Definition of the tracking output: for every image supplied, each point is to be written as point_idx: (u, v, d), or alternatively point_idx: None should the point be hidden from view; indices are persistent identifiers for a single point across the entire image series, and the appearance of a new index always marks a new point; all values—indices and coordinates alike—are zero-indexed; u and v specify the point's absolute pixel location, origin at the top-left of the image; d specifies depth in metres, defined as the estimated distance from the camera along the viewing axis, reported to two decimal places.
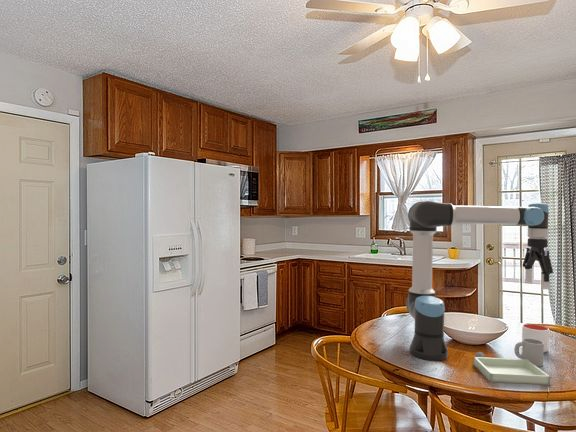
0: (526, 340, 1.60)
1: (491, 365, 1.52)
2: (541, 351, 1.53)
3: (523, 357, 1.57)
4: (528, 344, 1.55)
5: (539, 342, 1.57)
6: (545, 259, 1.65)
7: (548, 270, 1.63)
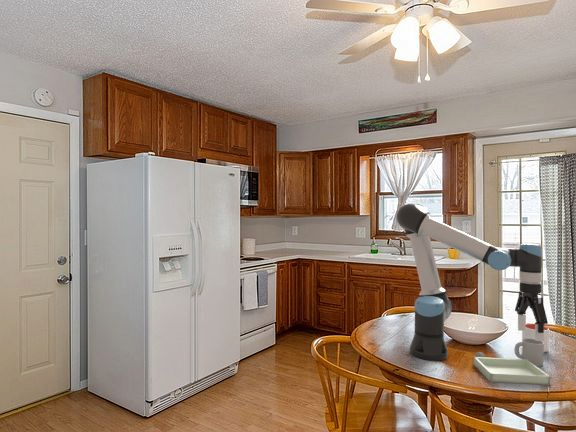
0: (526, 340, 1.60)
1: (491, 365, 1.52)
2: (541, 351, 1.53)
3: (523, 357, 1.57)
4: (528, 344, 1.55)
5: (539, 342, 1.57)
6: (539, 308, 1.49)
7: (542, 321, 1.47)
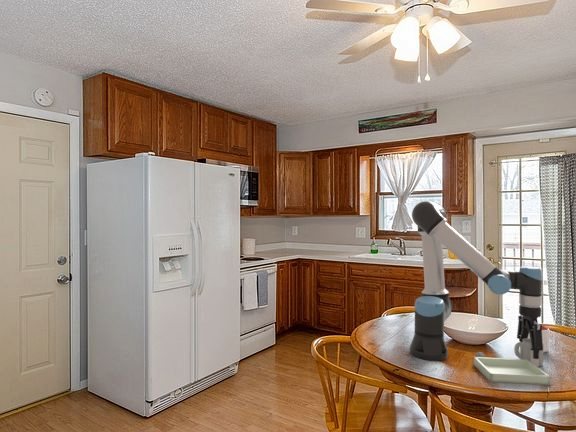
0: (526, 340, 1.60)
1: (491, 365, 1.52)
2: (541, 351, 1.53)
3: (523, 357, 1.57)
4: (528, 344, 1.55)
5: None
6: (536, 335, 1.50)
7: (537, 347, 1.50)
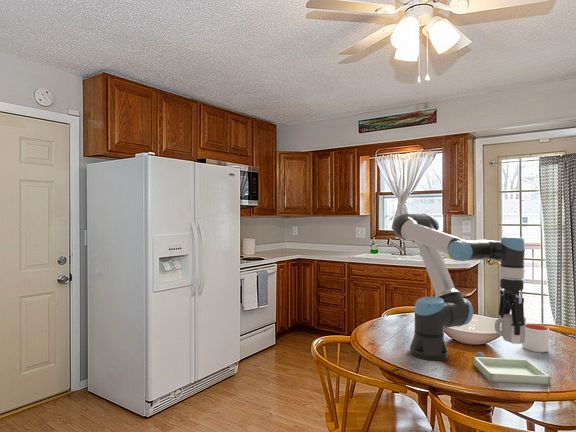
0: (507, 316, 1.49)
1: (491, 365, 1.52)
2: (523, 327, 1.42)
3: (504, 334, 1.46)
4: (509, 319, 1.43)
5: None
6: (518, 309, 1.39)
7: (519, 322, 1.38)
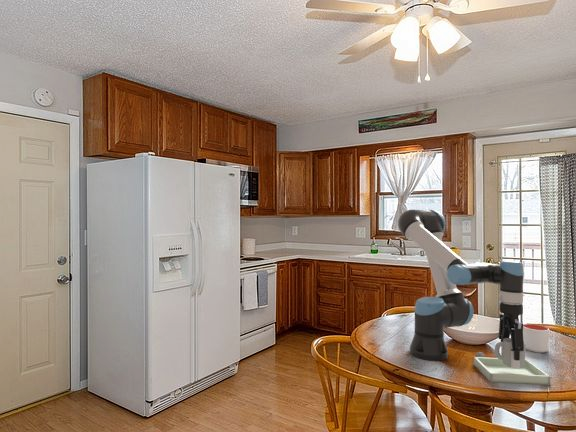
0: (507, 340, 1.48)
1: (491, 365, 1.52)
2: (522, 351, 1.42)
3: (503, 358, 1.45)
4: (509, 344, 1.43)
5: None
6: (517, 334, 1.39)
7: (518, 348, 1.38)
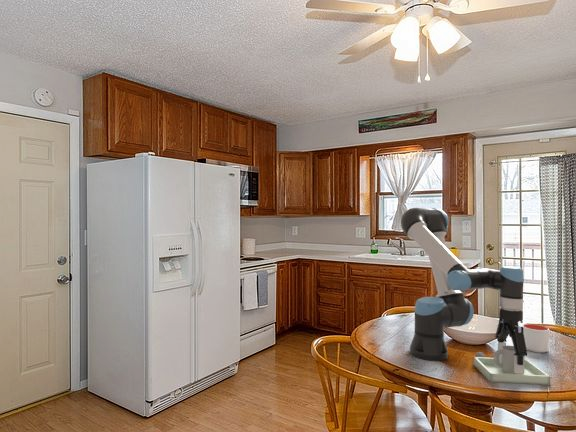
0: (506, 347, 1.49)
1: (491, 365, 1.52)
2: None
3: (503, 366, 1.46)
4: (508, 352, 1.43)
5: None
6: (518, 338, 1.38)
7: (522, 352, 1.36)
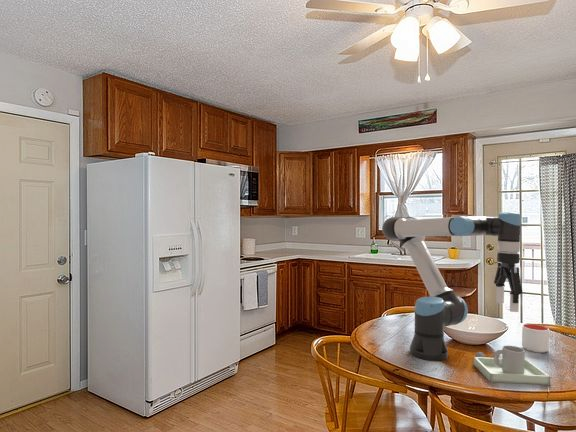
0: (506, 347, 1.49)
1: (491, 365, 1.52)
2: (522, 359, 1.42)
3: (503, 366, 1.46)
4: (508, 352, 1.43)
5: (520, 350, 1.46)
6: (514, 277, 1.43)
7: (517, 290, 1.41)
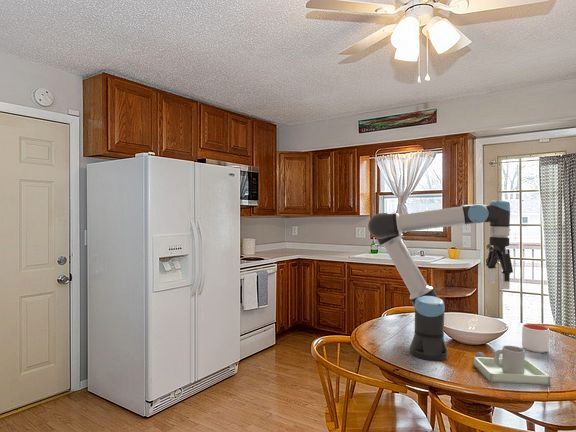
0: (506, 347, 1.49)
1: (491, 365, 1.52)
2: (522, 359, 1.42)
3: (503, 366, 1.46)
4: (508, 352, 1.43)
5: (520, 350, 1.46)
6: (505, 258, 1.60)
7: (508, 269, 1.58)
